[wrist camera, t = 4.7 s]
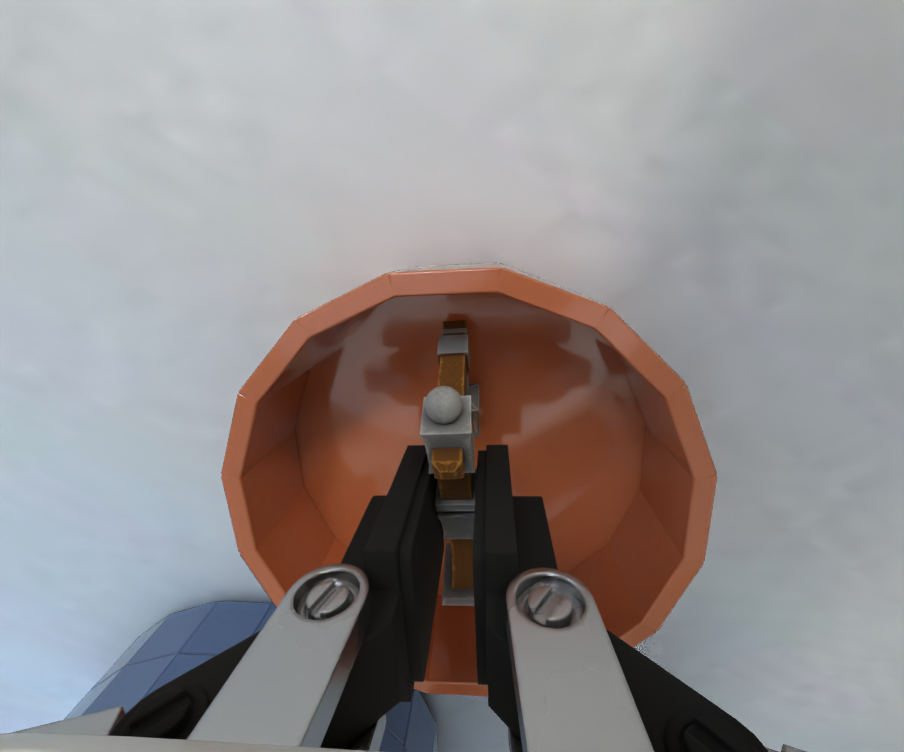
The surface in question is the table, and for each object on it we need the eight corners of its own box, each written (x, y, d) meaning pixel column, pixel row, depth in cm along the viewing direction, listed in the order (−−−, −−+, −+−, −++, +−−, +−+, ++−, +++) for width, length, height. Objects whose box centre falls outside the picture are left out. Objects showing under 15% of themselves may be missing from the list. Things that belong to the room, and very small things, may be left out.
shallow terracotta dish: (677, 253, 11) (751, 254, 8) (641, 608, 14) (683, 707, 11) (255, 273, 12) (174, 282, 9) (313, 598, 15) (268, 686, 12)
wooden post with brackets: (487, 287, 10) (492, 423, 7) (497, 480, 15) (503, 613, 12) (415, 292, 10) (385, 427, 7) (449, 482, 16) (441, 613, 12)
